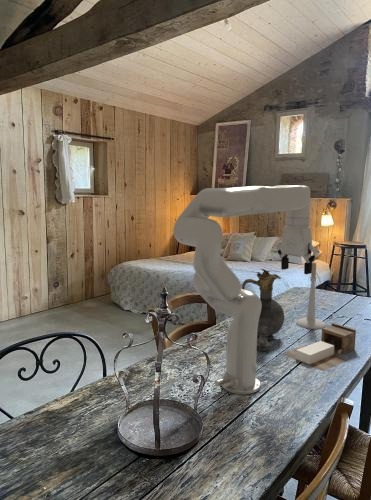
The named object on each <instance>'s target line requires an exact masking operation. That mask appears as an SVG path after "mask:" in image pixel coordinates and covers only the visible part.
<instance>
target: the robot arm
mask: <svg viewBox="0 0 371 500" xmlns="http://www.w3.org/2000/svg"><path fill="white" fill-rule="evenodd" d="M310 209H311V188H310V186H307V185H291V184H290V185H288V184H285V185H274V186H264V185H251V186H250V185H249V186H248V185H247V186H236V187H219V188H216V187H214V188H212V187H211V188H210V187H206V188H204V189H201V190H200V191H199V192H198V193H197V194H196V195H195V196H194V197H193V199H191V201H190V202H189V203H188V205H187V206H186V207H185V208H184V209H183V211H182V212H181V213H180V215H179V216H178V217H177V219H176V220H175V223H174V225H173V230H172V231H173V237H174V238H175V240H176V241H177V242H178V243H180V244H181V245H185V246H189V247H195V251H194V256H193V266H192V267H193V270H194V275H193V279H192V280H193V287H194V289H195V291H196V292H197V293H198V294H199V295H200V297H201V298H202V299H203V300H204V301H205V302H206V303H207V304H208V305H209V306H210V307H211V308H212V309H213V310H215V311H216V312H218V313H219V314H222V315H225V316H228V317H229V318H231V319H232V320H231V322H230V324H229V326H228V328H227V332H226V360H225V361H226V362H225V363H226V364H225V372H223V376H222V377H221V378H219V379H216V380H215V381H214V385H215V387H217V388H218V387H222V388H223V389H224V390H225V391H227V392H229V393H232V394H235V395H236V394H237V395H251V394H254V393H257V392H258V391H259V390H260V389H261V381H260V380H259V379H258V378H256V376H257V375H256V374H257V353H258V352H257V351H258V350H257V349H258V348H257V341H258V339H257V329H258V321H259V317H260V313H261V308H262V304H261V300H260V296H258V295H257V294H256V293H254V292H253V291H250V290H247V289H245V288H244V289H242V284H241V281H240V279H239V278H238V276H237V275H236V274H235V272H233V270H232V269H231V268H230V267H229V266H228V264H227V263H226V261H224V258H222V256H221V247H222V243H223V242H222V241H223V237H224V236H223V234H224V233H223V228H222V227H221V225H220V223H219V222H217V221H216V220H214V219H211V218H209V217H212V218H213V217H215V218H232V217H240V216H247V215H248V216H249V215H257V214H258V215H259V214H262V215H263V214H269V213H282V212H286V217H285V218H284V222H285V224H286V225H284V226H283V230H282V235H281V242H280V243H277V244H276V245H275V247H276V250H277V254H278V255H279V258H280V259H281V261H280V262H281V263H280V265H281V266H280V267H281V268H280V269H281V270H288V269H289V267H290V266H289V263H290V261H289V260H290V259H289V257H288V256H292V257H294V256H295V257H298V258H299V257H301V258H303V259H304V261H305V262H304V267H303V269H304V270H303V274H304V275H311V271H312V262H315V260H317V259H318V255H319V254H320V250H319V249H318V248H316V247H315V246H314V245H313V237H312V229H311V226H310V211H311V210H310Z"/></svg>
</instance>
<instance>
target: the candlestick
mask: <svg viewBox="0 0 371 500" xmlns="http://www.w3.org/2000/svg"><path fill="white" fill-rule="evenodd" d="M316 274H317V262H315V261H314V262H312V271H311V273H310V276H309V279H310V282H311V283H310V288H309V295H308V296H309V297H308V299H309V300H308V306H307V313H306V315H307V316H306V317H301V318H299V319H298V320H296V325H297V326H298V327H300V328H303V329H304V328H305V329H307V330H322V328H325V327H326V324H325V322H324V321H322V320H321V319H319V318H316V282H317V278H318V276H317V275H316Z"/></svg>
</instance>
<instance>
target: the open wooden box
mask: <svg viewBox="0 0 371 500" xmlns="http://www.w3.org/2000/svg"><path fill="white" fill-rule="evenodd" d="M356 334H357V330H356V329H355V328H352V327H348V326H344V325H341V324H338V323H334V322H332V323H331V325H329V326H325V327H324V328H322V329H321V338H320V339H321V340H320V341H322V342H325V343H328V344H331V345H334V355H331V356H329V357H326V358H324V359H322V360H319V361H317V362H314V363H312V364H310V365H309V364H307V363H305V362H302V361H300V360H297V359H296V350H297V349H300V348H303V347H305V346H308V345H309V344H306V345H303V346H299V347H297V348H295V349H292V350H289V351H287V352H284V353H282V355H284V356H286V357H288V358H290V359H294V360H296V361H298V362H301V363H303V364H305V365H308V366H310V367H312V368H314V369H317V370H319V371H323V372H324V371H325V372H326V371H327V370H328V369H331V368H333V367H336V366H337V365H338V366H339V365H340V364H342V363H344V362H347V361H348V359H345V358H342V357H341V356H342V355H345V354H347V353H350V352H352V351H354V350H355V348H356V346H355V345H356Z"/></svg>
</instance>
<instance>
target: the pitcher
mask: <svg viewBox="0 0 371 500" xmlns="http://www.w3.org/2000/svg"><path fill="white" fill-rule="evenodd" d="M261 270H262V273H261V272H260V271H255V273H256V276H257V277H258V279H257V280H255V279H252V278H247V279H245V280H244V281H243V283H242V284H241V289H244V290H245V287H246V285H247V284H248V283H249V284H254V285H257V286H258V287H259V291H260V292H259V298H260V300H261V304H262V308H261V313H260V317H259V321H258V329H257V340H259V333H260V326H261V325H263V323H264V325H266V326H267V334H268V336H267V341H272V340H274V338H275V336H274V335H275V334H278V332H280V331H281V329H282V328H283V325H284V322H285V313H284V312H285V311H284V309H283V307H282V306H281V304H280V303H279V302H278V301H276V300H274V299H273V289H274V287H273V285H274V281H275V280H277V279H279V280H282V278H281V276H279V275H278V274H275V273H272V274H271V273H270V272H271V271H270V270H266V269H264V268H261Z"/></svg>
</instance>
